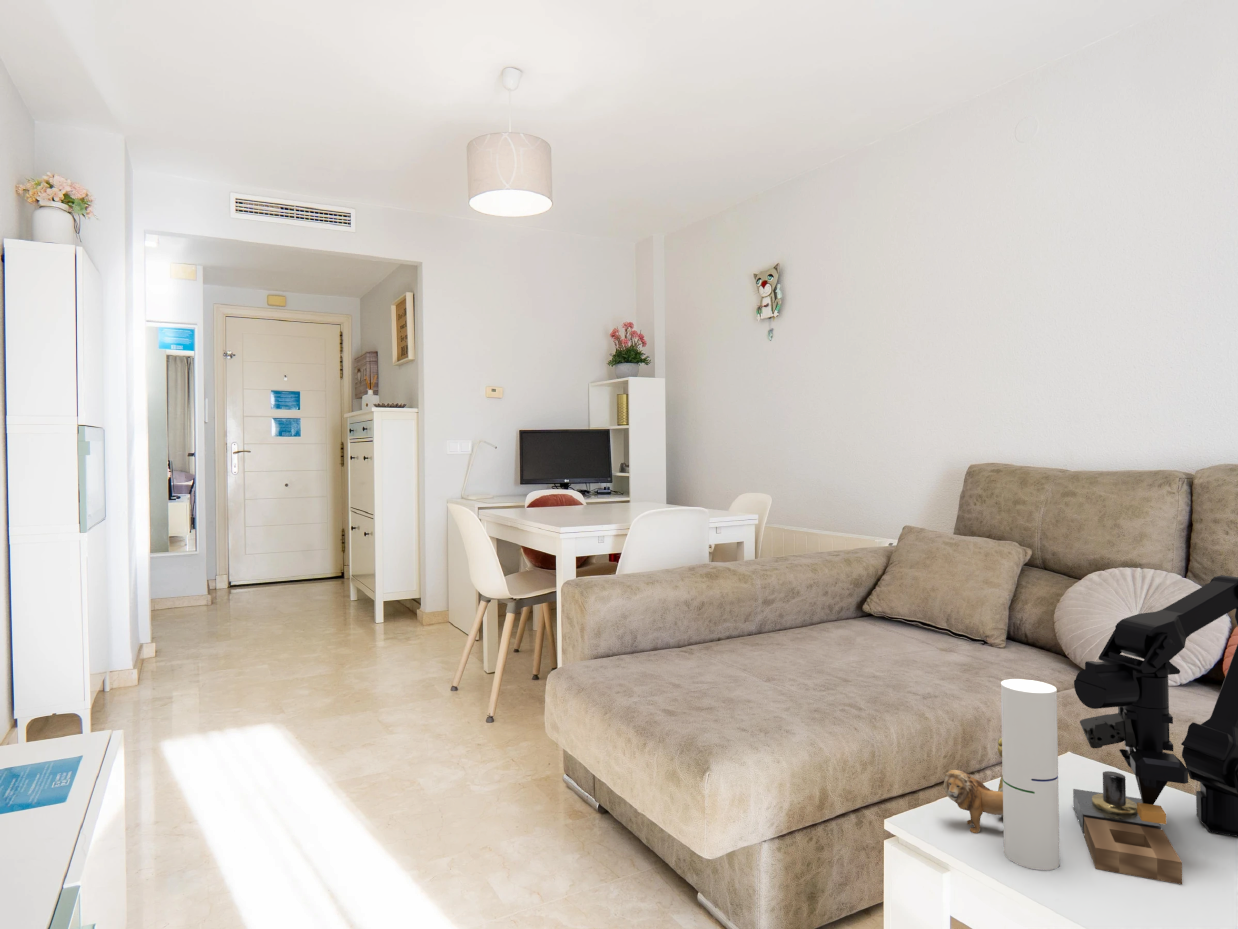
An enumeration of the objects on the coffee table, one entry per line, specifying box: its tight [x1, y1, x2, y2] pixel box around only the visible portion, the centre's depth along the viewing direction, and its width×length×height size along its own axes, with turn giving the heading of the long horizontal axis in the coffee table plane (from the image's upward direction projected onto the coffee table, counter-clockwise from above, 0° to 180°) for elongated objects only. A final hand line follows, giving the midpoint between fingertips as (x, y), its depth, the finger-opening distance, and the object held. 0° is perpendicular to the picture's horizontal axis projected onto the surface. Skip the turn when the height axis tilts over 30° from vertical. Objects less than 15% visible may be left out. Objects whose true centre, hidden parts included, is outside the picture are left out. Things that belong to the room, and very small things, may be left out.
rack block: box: [1083, 817, 1183, 885], centre depth 106 cm, size 10×10×3 cm
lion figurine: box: [943, 769, 1003, 834], centre depth 115 cm, size 15×5×9 cm, turn 69°
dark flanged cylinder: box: [1092, 770, 1137, 815], centre depth 116 cm, size 6×6×8 cm
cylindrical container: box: [1000, 678, 1061, 871], centre depth 107 cm, size 7×7×25 cm
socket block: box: [1072, 788, 1162, 835], centre depth 116 cm, size 10×10×3 cm
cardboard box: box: [1137, 802, 1167, 825], centre depth 110 cm, size 3×3×2 cm
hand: (1147, 805), depth 112 cm, fingers closed
